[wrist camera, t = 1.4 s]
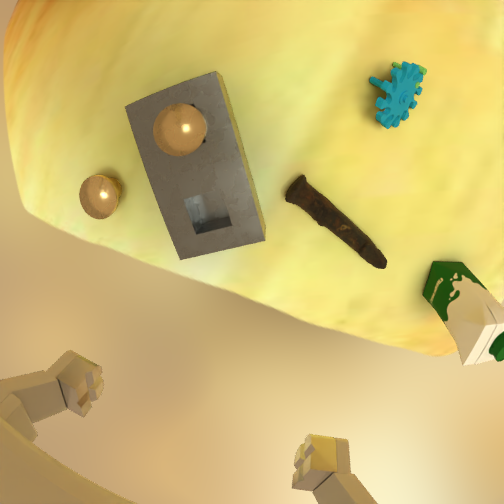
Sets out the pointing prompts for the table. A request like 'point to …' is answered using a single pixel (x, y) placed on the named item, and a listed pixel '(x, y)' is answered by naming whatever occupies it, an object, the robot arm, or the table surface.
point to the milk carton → (467, 312)
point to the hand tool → (334, 221)
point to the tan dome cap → (100, 196)
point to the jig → (198, 166)
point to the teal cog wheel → (398, 93)
